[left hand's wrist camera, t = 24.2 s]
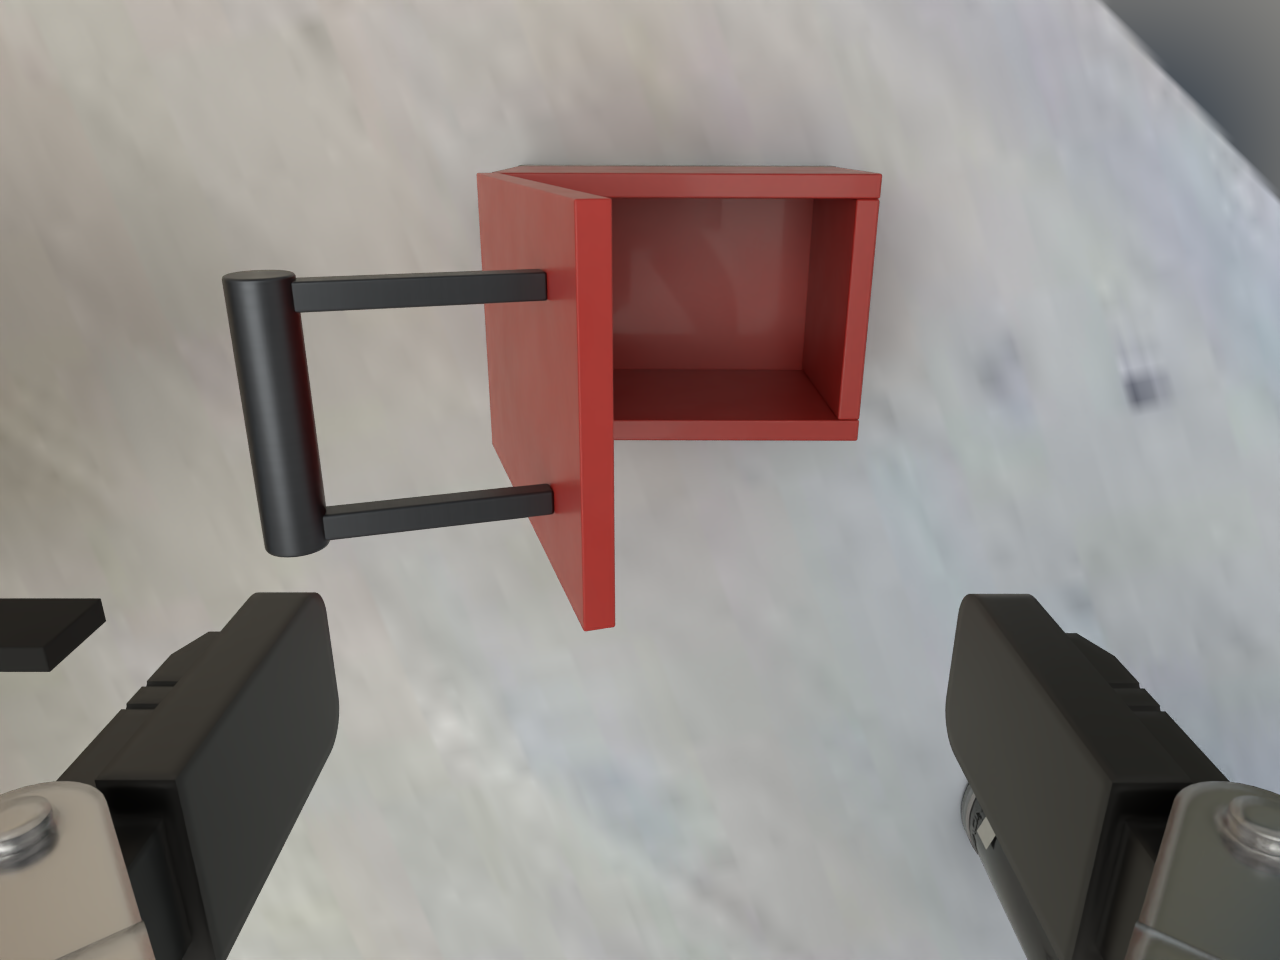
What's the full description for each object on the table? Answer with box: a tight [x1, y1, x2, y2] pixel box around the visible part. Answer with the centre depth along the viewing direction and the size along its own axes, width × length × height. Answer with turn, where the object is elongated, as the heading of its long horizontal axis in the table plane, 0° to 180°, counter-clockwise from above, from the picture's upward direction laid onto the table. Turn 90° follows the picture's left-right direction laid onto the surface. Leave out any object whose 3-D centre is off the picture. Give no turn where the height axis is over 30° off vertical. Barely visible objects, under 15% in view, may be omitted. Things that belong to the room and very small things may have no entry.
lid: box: [222, 173, 615, 631], centre depth 26 cm, size 15×10×8 cm
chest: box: [492, 165, 882, 441], centre depth 38 cm, size 14×10×9 cm
